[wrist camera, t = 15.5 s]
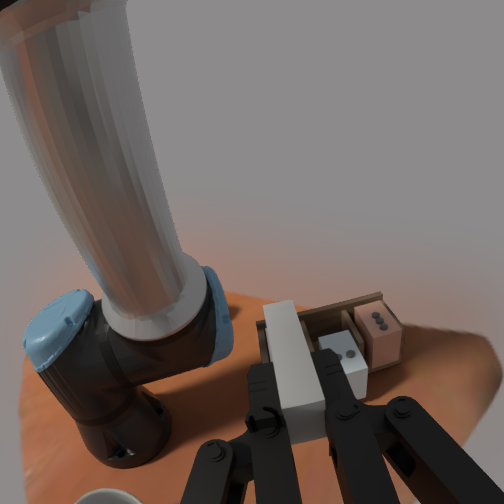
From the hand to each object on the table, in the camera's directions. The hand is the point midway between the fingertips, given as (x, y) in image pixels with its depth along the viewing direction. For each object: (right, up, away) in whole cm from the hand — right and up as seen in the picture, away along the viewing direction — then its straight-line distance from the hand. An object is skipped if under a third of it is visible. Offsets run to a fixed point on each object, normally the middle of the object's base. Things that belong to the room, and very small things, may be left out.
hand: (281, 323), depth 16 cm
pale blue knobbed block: (+11, -14, +23) cm, 30 cm away
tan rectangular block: (+18, -11, +28) cm, 35 cm away
